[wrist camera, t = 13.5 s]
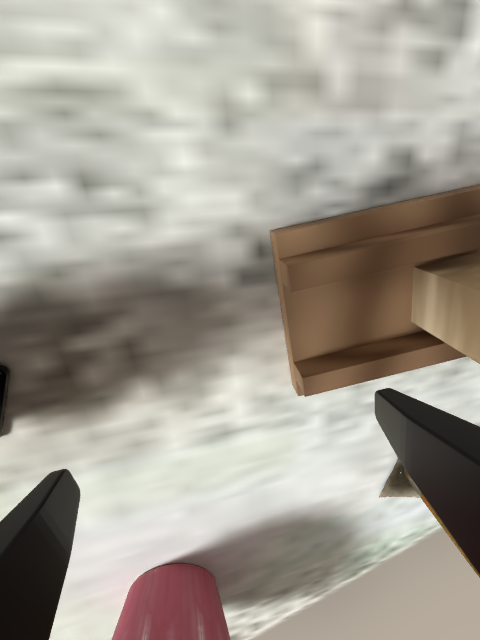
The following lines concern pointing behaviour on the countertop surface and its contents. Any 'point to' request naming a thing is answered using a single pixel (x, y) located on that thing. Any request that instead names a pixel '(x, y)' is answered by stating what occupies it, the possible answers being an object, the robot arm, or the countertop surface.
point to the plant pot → (173, 606)
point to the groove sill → (366, 287)
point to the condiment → (410, 494)
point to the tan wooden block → (450, 302)
